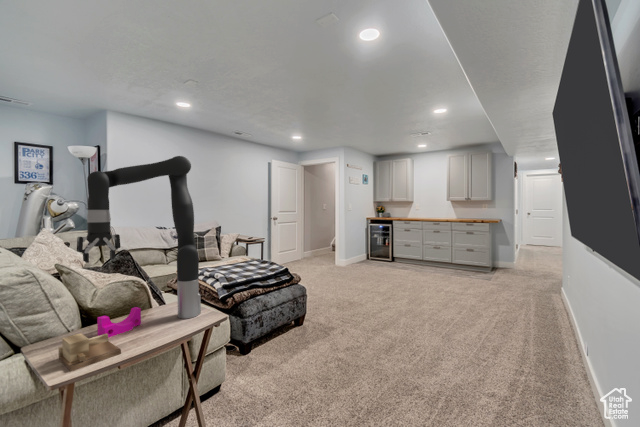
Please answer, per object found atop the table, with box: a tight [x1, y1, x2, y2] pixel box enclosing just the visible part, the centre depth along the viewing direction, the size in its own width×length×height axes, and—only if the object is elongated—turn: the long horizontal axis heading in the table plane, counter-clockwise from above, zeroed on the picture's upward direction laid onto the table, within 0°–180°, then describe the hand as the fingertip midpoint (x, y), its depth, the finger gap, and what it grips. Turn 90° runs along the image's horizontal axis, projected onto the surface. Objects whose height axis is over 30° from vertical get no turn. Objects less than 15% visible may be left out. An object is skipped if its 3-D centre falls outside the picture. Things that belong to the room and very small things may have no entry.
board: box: [58, 333, 122, 372], centre depth 103 cm, size 14×13×4 cm
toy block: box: [96, 306, 142, 339], centre depth 125 cm, size 15×6×8 cm, turn 148°
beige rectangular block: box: [61, 332, 89, 363], centre depth 99 cm, size 5×11×6 cm, turn 54°
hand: (99, 260), depth 120 cm, fingers open, 8 cm apart
